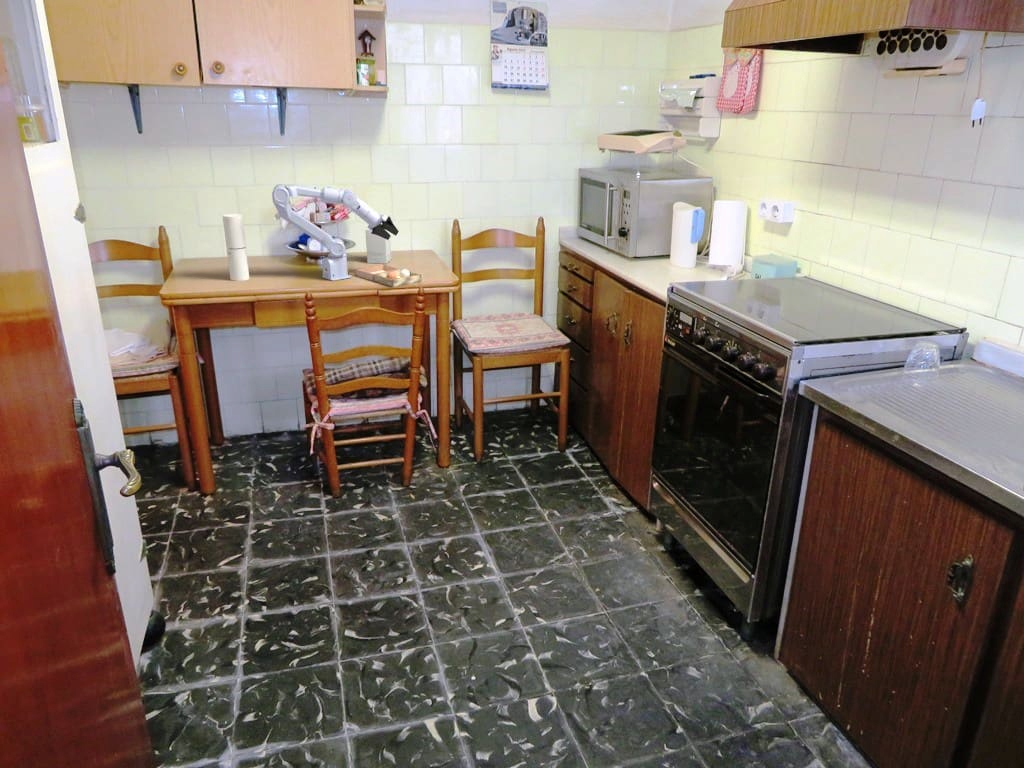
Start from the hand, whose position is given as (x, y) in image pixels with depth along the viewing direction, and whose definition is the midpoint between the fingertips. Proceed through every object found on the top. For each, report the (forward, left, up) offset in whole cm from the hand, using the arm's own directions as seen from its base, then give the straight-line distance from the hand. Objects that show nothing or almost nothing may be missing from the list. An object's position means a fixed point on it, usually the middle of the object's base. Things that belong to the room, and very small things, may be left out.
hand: (393, 235), depth 295 cm
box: (-6, -9, -16) cm, 20 cm away
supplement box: (+10, +26, -17) cm, 32 cm away
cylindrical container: (-51, +35, -17) cm, 63 cm away
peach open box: (-6, +4, -16) cm, 18 cm away
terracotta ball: (-8, -9, -14) cm, 19 cm away
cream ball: (-2, -9, -14) cm, 17 cm away
